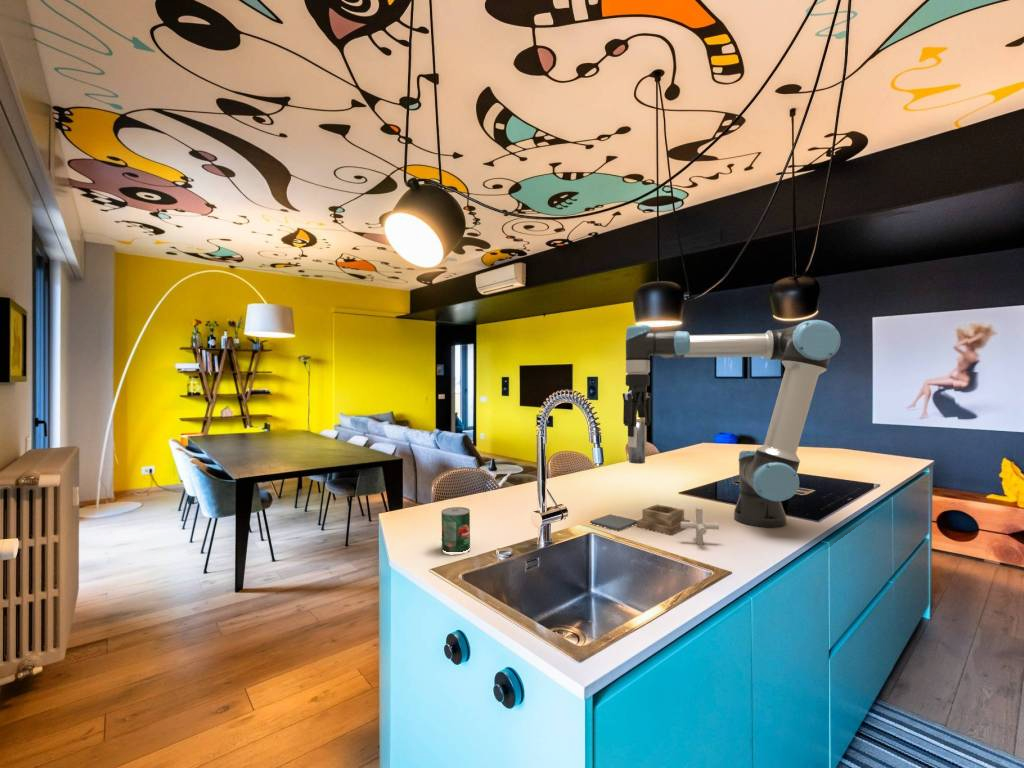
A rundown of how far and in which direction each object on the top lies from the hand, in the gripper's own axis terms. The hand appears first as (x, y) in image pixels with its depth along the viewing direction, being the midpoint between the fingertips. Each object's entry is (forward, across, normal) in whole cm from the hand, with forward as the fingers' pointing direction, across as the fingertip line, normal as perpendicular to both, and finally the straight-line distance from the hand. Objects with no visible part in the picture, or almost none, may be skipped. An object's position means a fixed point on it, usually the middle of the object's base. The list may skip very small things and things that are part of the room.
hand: (637, 445), depth 150 cm
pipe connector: (+25, +3, +22) cm, 34 cm away
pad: (+26, +4, -6) cm, 27 cm away
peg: (+5, 0, 0) cm, 5 cm away
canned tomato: (+27, +55, -23) cm, 65 cm away
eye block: (+25, -4, +7) cm, 27 cm away
